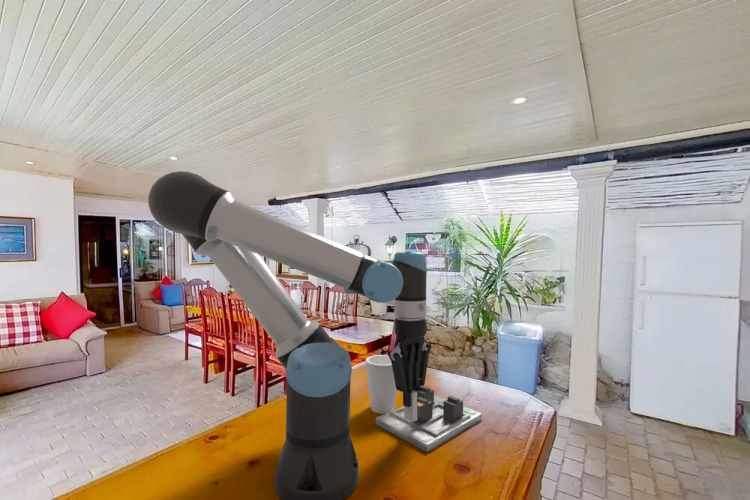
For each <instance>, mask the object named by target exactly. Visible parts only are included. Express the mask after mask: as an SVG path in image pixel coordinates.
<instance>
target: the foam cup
mask: <svg viewBox="0 0 750 500" xmlns="http://www.w3.org/2000/svg"><path fill="white" fill-rule="evenodd" d="M365 371H366V377H367V385H368V387H367V388H368V395H369V403H370V404H369V405H370V410H371V411H372V412H374V413H377V414H382V415H384V414H387V413H389V412H390V411H393V410H395V405H396V399H397V392H398V390H397V389H396V385H395V380H394V374H393V369H392V363H391V360H390V358H389V356H388V354H378V355H372V356H368V357H366V359H365Z"/></svg>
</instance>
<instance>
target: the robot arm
mask: <svg viewBox="0 0 750 500" xmlns="http://www.w3.org/2000/svg"><path fill="white" fill-rule="evenodd" d="M147 199H148V200H147V201H148V203H147V205H148V208H149V210H150V214H151V215H152V217H153V219H154V220H155V221H156V222H157V223H158V224H159V225H160V226H162V227H163V228H165V229H166V230H169V231H170V232H174V233H176V234H181V235H182V236H183V238H185V240H186V241H187V243H188V244H189V245H190V247H191V248H192V249H193V250H194V252H195V253H196V254H197V255H201V256H205V257H208V258H210V260H211V261H212V262H213V264H214V266H216V268H217V269H218V271H220V273H221V274H222V275H223V277H224V278H225V279H226V280H227V282H228V284H229V285H230V286H231V288H232V289H233V290H234V292H235V293H236V294H237V296H239V298H240V300H242V302H243V303H244V305H245V306H246V307H247V309H248V310H249V311H250V312H251V314H252V315H253V316H254V318H255V319H256V321H257V322H258V323H259V324H260V325H261V327H262V328H263V330H264V331H265V332H266V333H267V336H269V338H271V340H272V341H273V343H274V344H275V346H276V351H275V358H276V359H277V360H278V362H279V363H280V364H281V366H282V367H283V369H284V370H285V377H286V403H285V404H286V405H285V406H286V408H285V409H286V411H285V412H286V414H285V440H284V442H283V445H282V449H281V452H280V454H279V458H278V462H277V464H276V467H275V472H274V488H275V489H274V490H275V492H276V494H277V496H278V497H279V498H280V499H281V500H345V498H347V497H349V495H350V494H352V492H354V490H355V489H356V487H357V485H358V483H359V476H360V473H359V472H360V471H359V469H360V466H359V460H358V457H357V454H356V450H355V448H354V444H353V440H352V438H351V425H350V424H351V377H352V374H353V373H352V371H353V369H352V368H353V367H352V363H351V356H350V354H349V351H347V349H345V348H344V347H342V345H341V346H340V345H339V344H338V342H337V341H336V340H335V339H333V337H331V336H330V335H329V334H328V332H326V330H325V329H324V327H323V326H322V325H321V323H320V322H319V321H314V320H309V318H308V317H307V316H306V315H305V313H304V312H303V311H302V309H301V308H300V307H299V305H298V304H297V302H296V301H295V300H294V299H293V296H291V294H290V293H289V292H288V290H287V289H286V288H285V287H284V285H283V283H281V281H280V280H279V278H278V277H277V275H276V274H275V273H274V272H273V271H272V269H271V268H270V267H269V265H268V264H267V262H266V261H265V260H264V258H266V259H268V260H272V261H275V262H277V263H280V264H282V265H284V266H287V267H290V268H292V269H295V270H296V271H299V272H302V273H305V274H308V275H309V276H313V277H315V278H318V279H321V280H323V281H324V282H327V283H331V284H332V285H335V286H339V287H341V288H343V290H344V292H345V293H346V294H350V295H352V294H353V295H354V294H355V295H361V296H363V297H366V298H368V299H369V300H370V301H371V302H376V303H378V304H379V303H381V304H386V303H390V302H392V301H394V303H393V304H394V305H393V306H394V307H393V308H394V310H393V312H394V313H393V316H395V318H394V324H393V325H394V334H395V335H396V341H395V348H394V349H393V350H388V352H387V355H388V356H389V358H390V360H391V363H392V369H393V374H394V380H395V385H396V389H397V391H399V392H401V393H402V405H403V406H404V418H406V419H408V420H410V421H412V422H414V421H416V420H417V403H418V391H420V392H421V391H422V388H420V386H425V384H426V378H427V377H426V376H427V371H428V370H427V369H428V362H429V355H430V351H431V350H432V343H427V342H426V341H425V340H426V339H425V336H426V335H427V323H428V321H427V319H426V318H425V317H426V316H427V273H428V270H427V257H426V255H425V254H424V253H423V252H419V251H417V252H416V251H415V252H413V251H411V252H410V251H409V252H401V251H399V252H395V253H394V255H393V257H394V258H393V259H392V260H380V259H378V258H375V257H373V256H371V255H368V254H365V253H362V252H361V251H358V250H356V249H354V248H351V247H349V246H347V245H344V244H342V243H339V242H336V241H334V240H332V239H329V238H327V237H326V236H322V235H320V234H318V233H315V232H313V231H310V230H308V229H305V228H303V227H301V226H298V225H296V224H294V223H291V222H289V221H286V220H284V219H281V218H280V217H279V218H278V217H277V216H274V215H272V214H270V213H267V212H264V211H263V210H260V209H257V208H255V207H253V206H249V205H248V204H245V203H242V202H241V201H238V200H236V199H235V197H234V194H233V193H232V192H230V191H228V190H226V189H225V188H221V187H219V186H217V185H215V184H213V183H212V182H211V181H208V180H207V179H206V178H204V177H203V176H201V175H199V174H197V173H194V172H190V171H183V170H181V171H172V172H169V173H166V174H164V175H163V176H161V177H159V178H158V179H157V180H156V181H155V182H154V183H153V184H152V186H151V188H150V190H149V194H148V198H147ZM263 257H264V258H263Z"/></svg>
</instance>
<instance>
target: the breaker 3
mask: <svg viewBox="0 0 750 500" xmlns="http://www.w3.org/2000/svg"><path fill="white" fill-rule="evenodd" d="M463 407H464V400H462V399H459V398H458V397H456V396H453V395H449V396H447V399H445V401H444V402H443V418H445V419H447V420H450V421H452V422H453V421H455V420H457V419H459V418H461V417H463Z"/></svg>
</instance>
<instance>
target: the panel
mask: <svg viewBox="0 0 750 500" xmlns="http://www.w3.org/2000/svg"><path fill="white" fill-rule="evenodd" d="M445 400H446V398H445V399H444V398H442V397H439V396H437V395H434V404H433V405H432V418H431V419H429V420H427V421H425V422H423V423H419V422H417V421H414V422H412V421H410V420H408V419H406V418H404V405H403V406H401V407H398V408H396V409H394V410H393V411H390V412H389V413H385V414H382V415H379V416H377V417H375V425H376V426H378V427H380V428H382V429H384V430H385V431H387V432H389V433H391V434H392V435H395V436H396V437H399V438H400V439H401V440H403V441H406V442H407V443H409V444H411V445H413V446H414V447H417V448H419V449H421V450H423V451H424V452H427V453H429V452H430V451H432V450H434V449H435V448H437V447H439V446H440V445H442V444H444V443H445V442H447V441H449V440H450V439H452V438H454V437H455V436H458V434H461V433H462V432H463V431H465V430H467V429H469V428H470V427H472V426H473V425H475V424H478V422H481V421H483V414H482V412H479V411H476V410H475V409H471V408H469V407H465V406H463V417H461V418H459V419H457V420H455V421H453V422H452V421H450V420H447V419H445V418H443V402H444V401H445Z"/></svg>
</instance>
